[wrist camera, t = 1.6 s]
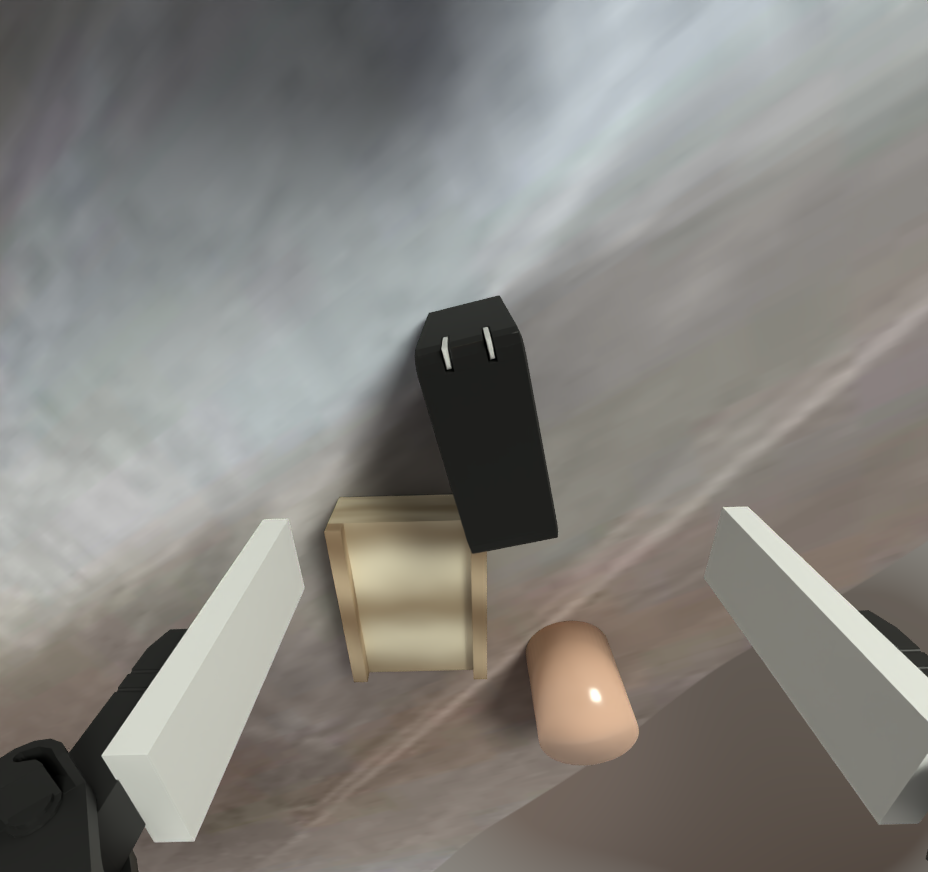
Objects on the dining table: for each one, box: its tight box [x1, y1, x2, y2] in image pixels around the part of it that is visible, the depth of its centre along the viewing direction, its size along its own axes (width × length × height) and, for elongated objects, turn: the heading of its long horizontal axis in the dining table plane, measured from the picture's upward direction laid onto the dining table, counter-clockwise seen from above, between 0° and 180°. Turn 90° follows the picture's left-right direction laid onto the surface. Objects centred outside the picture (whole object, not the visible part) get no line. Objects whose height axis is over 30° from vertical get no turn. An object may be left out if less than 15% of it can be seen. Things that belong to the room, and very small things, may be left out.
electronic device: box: [415, 296, 558, 554], centre depth 23 cm, size 4×10×10 cm, turn 14°
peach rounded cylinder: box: [526, 621, 639, 765], centre depth 34 cm, size 7×7×7 cm
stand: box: [324, 494, 487, 682], centre depth 32 cm, size 14×10×4 cm
